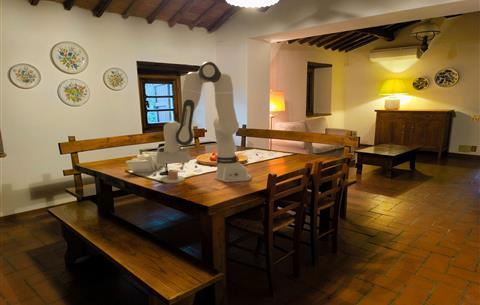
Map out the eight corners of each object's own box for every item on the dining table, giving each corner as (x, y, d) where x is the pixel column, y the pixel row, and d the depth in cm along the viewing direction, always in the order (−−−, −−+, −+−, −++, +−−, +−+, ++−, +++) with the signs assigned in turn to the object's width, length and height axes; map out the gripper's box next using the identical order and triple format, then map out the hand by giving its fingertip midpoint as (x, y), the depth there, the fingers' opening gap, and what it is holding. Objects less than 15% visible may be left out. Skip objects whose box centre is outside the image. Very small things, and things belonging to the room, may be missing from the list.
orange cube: (178, 177, 194) (177, 169, 193) (176, 179, 189) (176, 171, 189) (170, 177, 194) (169, 169, 193) (168, 179, 189) (168, 171, 188)
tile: (186, 176, 199) (186, 175, 199) (182, 182, 185) (182, 181, 185) (164, 177, 199) (164, 175, 198) (159, 183, 185) (159, 181, 185)
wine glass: (159, 176, 201) (157, 145, 198) (158, 172, 211) (157, 143, 207) (175, 174, 204) (174, 145, 200) (174, 171, 214) (173, 142, 210)
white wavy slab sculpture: (145, 175, 204) (144, 159, 202) (123, 173, 208) (122, 158, 206) (170, 163, 237) (169, 150, 235) (150, 162, 241) (150, 149, 239)
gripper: (190, 146, 192) (191, 168, 194) (157, 147, 192) (159, 169, 194) (188, 148, 186) (190, 170, 188) (154, 149, 185) (156, 172, 188)
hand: (174, 170), depth 191 cm, fingers open, 8 cm apart
